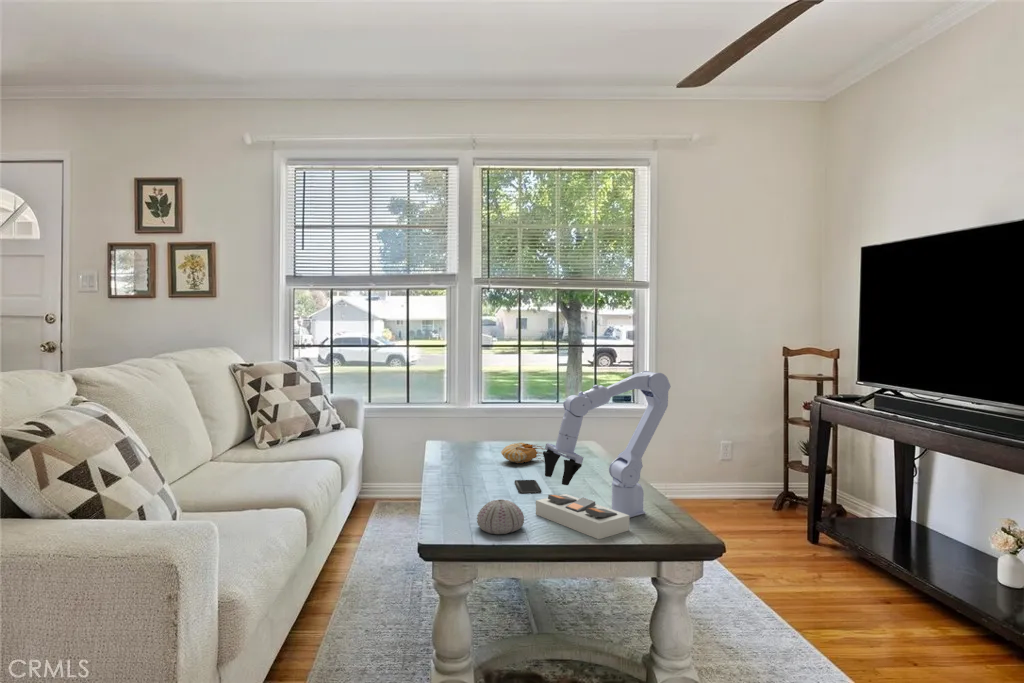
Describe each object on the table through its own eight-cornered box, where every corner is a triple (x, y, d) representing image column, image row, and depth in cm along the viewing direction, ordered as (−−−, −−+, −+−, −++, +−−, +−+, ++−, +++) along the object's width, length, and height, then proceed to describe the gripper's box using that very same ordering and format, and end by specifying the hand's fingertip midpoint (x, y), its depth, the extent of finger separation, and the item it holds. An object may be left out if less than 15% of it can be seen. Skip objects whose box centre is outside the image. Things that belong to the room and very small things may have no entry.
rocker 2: (602, 514, 166) (603, 508, 167) (615, 518, 162) (616, 512, 163) (585, 513, 162) (586, 507, 162) (598, 518, 158) (599, 512, 158)
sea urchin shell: (476, 537, 156) (476, 507, 155) (476, 521, 169) (476, 493, 169) (526, 537, 156) (526, 507, 156) (522, 521, 170) (522, 493, 170)
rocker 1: (564, 500, 179) (565, 495, 179) (575, 504, 175) (576, 499, 175) (547, 499, 175) (548, 494, 175) (558, 503, 171) (559, 498, 171)
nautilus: (545, 458, 255) (554, 468, 241) (497, 457, 251) (503, 467, 236) (547, 440, 255) (556, 449, 240) (498, 438, 251) (504, 447, 236)
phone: (519, 491, 198) (514, 480, 213) (519, 494, 198) (514, 483, 213) (542, 490, 199) (535, 479, 214) (542, 494, 199) (535, 482, 214)
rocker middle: (583, 502, 173) (582, 497, 173) (595, 506, 169) (595, 501, 169) (566, 511, 169) (565, 505, 169) (578, 515, 165) (577, 510, 165)
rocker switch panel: (565, 507, 183) (565, 493, 183) (629, 530, 162) (629, 515, 162) (535, 514, 176) (535, 500, 175) (598, 539, 155) (598, 523, 155)
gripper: (542, 427, 176) (530, 471, 175) (575, 440, 164) (563, 487, 164) (559, 430, 180) (547, 474, 179) (592, 443, 168) (580, 489, 168)
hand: (556, 480), depth 172 cm, fingers open, 7 cm apart
